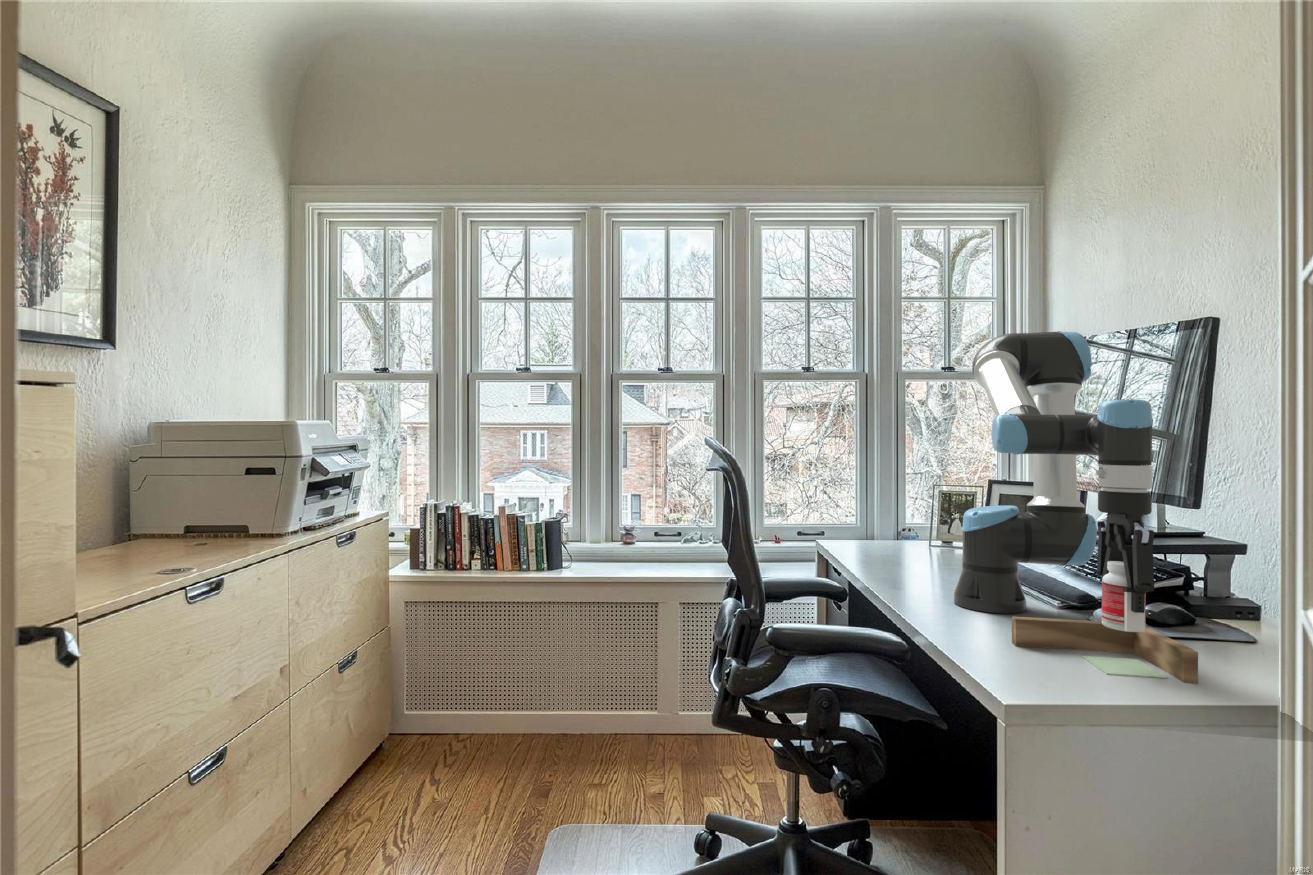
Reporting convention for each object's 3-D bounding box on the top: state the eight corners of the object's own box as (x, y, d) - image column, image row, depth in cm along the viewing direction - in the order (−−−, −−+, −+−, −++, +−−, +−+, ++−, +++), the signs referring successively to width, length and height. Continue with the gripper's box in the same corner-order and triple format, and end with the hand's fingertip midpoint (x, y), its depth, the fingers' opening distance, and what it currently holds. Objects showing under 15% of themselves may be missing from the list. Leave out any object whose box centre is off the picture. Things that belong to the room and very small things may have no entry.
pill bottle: (1136, 635, 109) (1136, 567, 109) (1094, 626, 114) (1095, 561, 114) (1152, 629, 112) (1152, 564, 112) (1111, 621, 117) (1111, 558, 117)
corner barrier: (1011, 642, 126) (1012, 616, 126) (1139, 650, 123) (1140, 623, 123) (1048, 673, 110) (1048, 643, 110) (1197, 683, 106) (1198, 652, 106)
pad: (1081, 657, 118) (1082, 655, 118) (1137, 660, 117) (1137, 659, 117) (1107, 674, 109) (1107, 673, 109) (1167, 678, 108) (1167, 677, 108)
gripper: (1075, 486, 123) (1074, 610, 123) (1129, 493, 104) (1129, 640, 104) (1119, 487, 122) (1119, 613, 122) (1183, 494, 103) (1182, 643, 103)
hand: (1123, 625), depth 113 cm, fingers closed on pill bottle, 6 cm apart
